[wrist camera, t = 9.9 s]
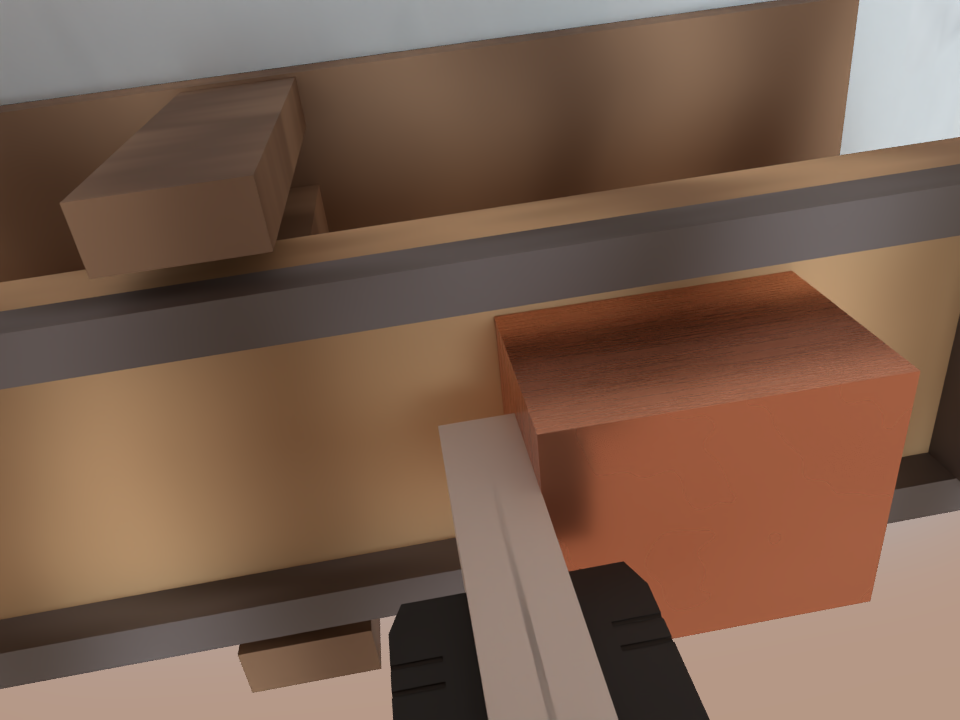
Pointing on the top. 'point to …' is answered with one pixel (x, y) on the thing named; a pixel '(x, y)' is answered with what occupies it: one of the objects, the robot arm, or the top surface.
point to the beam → (386, 394)
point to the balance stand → (410, 159)
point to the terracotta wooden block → (714, 443)
